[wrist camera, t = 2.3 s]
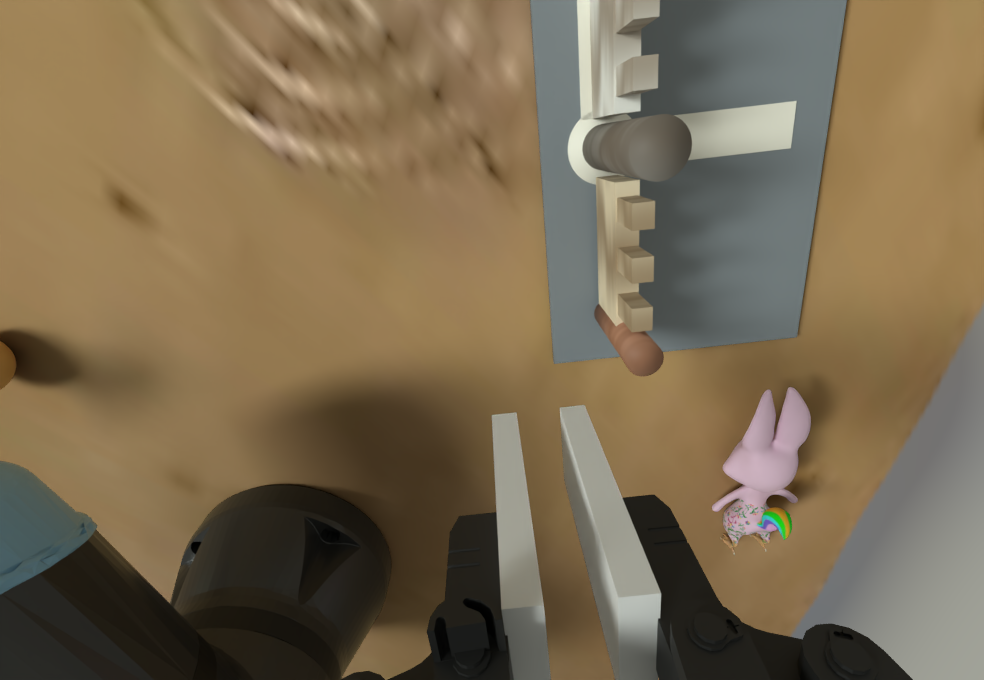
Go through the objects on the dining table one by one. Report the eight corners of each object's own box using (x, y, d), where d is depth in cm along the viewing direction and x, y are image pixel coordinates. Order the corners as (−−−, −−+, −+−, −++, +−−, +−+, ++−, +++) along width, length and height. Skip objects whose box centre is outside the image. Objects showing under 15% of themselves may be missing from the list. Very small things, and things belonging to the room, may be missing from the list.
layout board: (793, 334, 32) (797, 337, 31) (553, 361, 32) (554, 364, 31) (865, -162, 22) (873, -168, 22) (522, -118, 22) (523, -124, 22)
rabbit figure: (768, 514, 39) (812, 367, 32) (812, 583, 34) (879, 429, 26) (692, 522, 40) (718, 378, 32) (726, 593, 34) (766, 441, 27)
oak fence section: (590, 177, 27) (626, 189, 20) (622, 174, 27) (669, 184, 20) (594, 327, 30) (626, 378, 24) (623, 324, 30) (663, 374, 23)
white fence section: (624, 167, 27) (690, 177, 19) (582, 172, 27) (629, 184, 19) (624, -94, 22) (710, -234, 14) (573, -88, 23) (629, -223, 14)
